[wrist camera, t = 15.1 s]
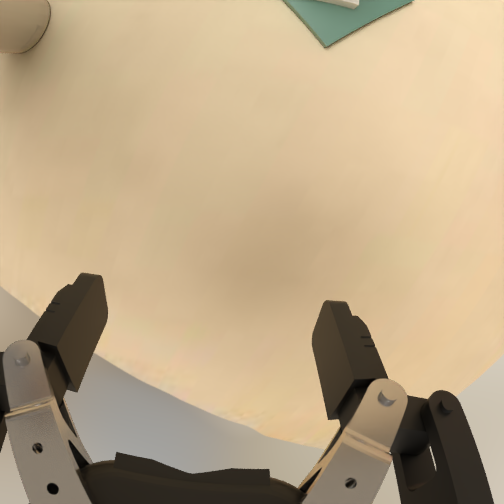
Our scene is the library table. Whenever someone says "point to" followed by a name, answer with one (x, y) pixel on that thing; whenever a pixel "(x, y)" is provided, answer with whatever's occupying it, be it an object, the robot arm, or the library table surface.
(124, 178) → the library table surface
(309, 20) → the board
